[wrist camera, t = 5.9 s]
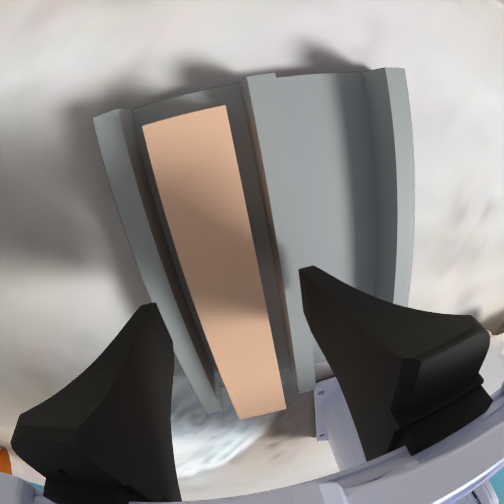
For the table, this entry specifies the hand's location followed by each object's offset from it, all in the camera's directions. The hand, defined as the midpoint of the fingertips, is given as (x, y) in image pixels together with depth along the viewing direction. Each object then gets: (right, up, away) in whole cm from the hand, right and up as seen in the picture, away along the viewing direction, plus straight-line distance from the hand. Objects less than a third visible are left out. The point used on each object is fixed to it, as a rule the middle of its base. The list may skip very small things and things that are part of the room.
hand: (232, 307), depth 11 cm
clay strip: (0, +1, +3) cm, 3 cm away
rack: (+2, +2, +4) cm, 5 cm away
